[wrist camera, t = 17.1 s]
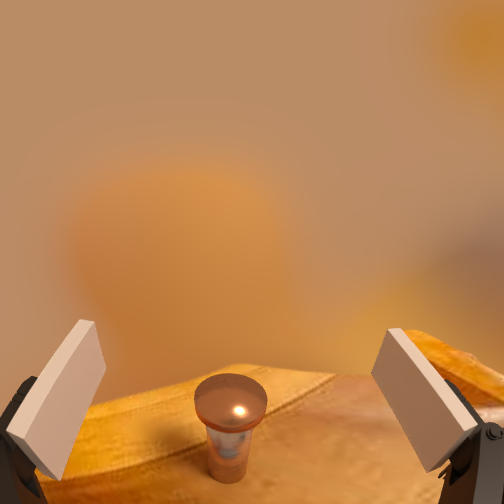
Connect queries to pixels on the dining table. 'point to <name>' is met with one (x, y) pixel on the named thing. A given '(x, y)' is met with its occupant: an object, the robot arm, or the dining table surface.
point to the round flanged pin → (229, 421)
